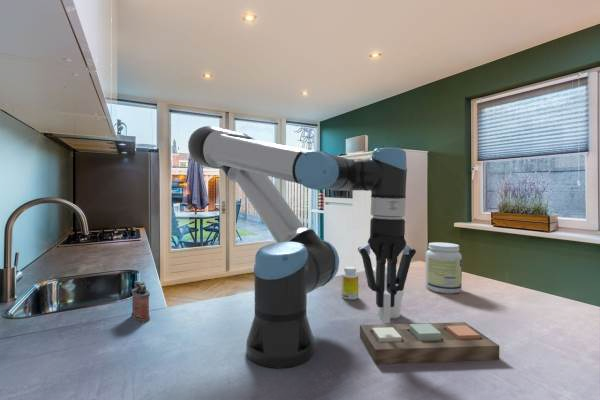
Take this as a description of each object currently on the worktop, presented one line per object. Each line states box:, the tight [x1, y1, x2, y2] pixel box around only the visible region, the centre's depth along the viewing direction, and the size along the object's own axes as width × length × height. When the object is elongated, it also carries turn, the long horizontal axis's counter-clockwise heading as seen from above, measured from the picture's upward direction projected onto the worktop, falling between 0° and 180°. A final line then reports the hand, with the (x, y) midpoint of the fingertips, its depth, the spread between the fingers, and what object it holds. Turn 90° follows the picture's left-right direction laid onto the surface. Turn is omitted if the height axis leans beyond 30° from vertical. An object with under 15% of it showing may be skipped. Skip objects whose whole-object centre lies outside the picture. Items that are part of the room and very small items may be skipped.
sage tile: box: [409, 323, 441, 341], centre depth 70 cm, size 5×5×2 cm
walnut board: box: [359, 321, 500, 365], centre depth 70 cm, size 27×12×3 cm, turn 94°
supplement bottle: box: [341, 265, 359, 300], centre depth 104 cm, size 6×6×10 cm
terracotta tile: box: [446, 325, 480, 340], centre depth 71 cm, size 5×5×2 cm
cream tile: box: [372, 327, 402, 342], centre depth 69 cm, size 5×5×2 cm
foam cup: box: [372, 265, 405, 319], centre depth 90 cm, size 10×9×13 cm
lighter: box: [131, 280, 151, 324], centre depth 86 cm, size 8×3×10 cm, turn 47°
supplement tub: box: [425, 241, 463, 295], centre depth 114 cm, size 12×12×17 cm
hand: (384, 320), depth 70 cm, fingers closed
